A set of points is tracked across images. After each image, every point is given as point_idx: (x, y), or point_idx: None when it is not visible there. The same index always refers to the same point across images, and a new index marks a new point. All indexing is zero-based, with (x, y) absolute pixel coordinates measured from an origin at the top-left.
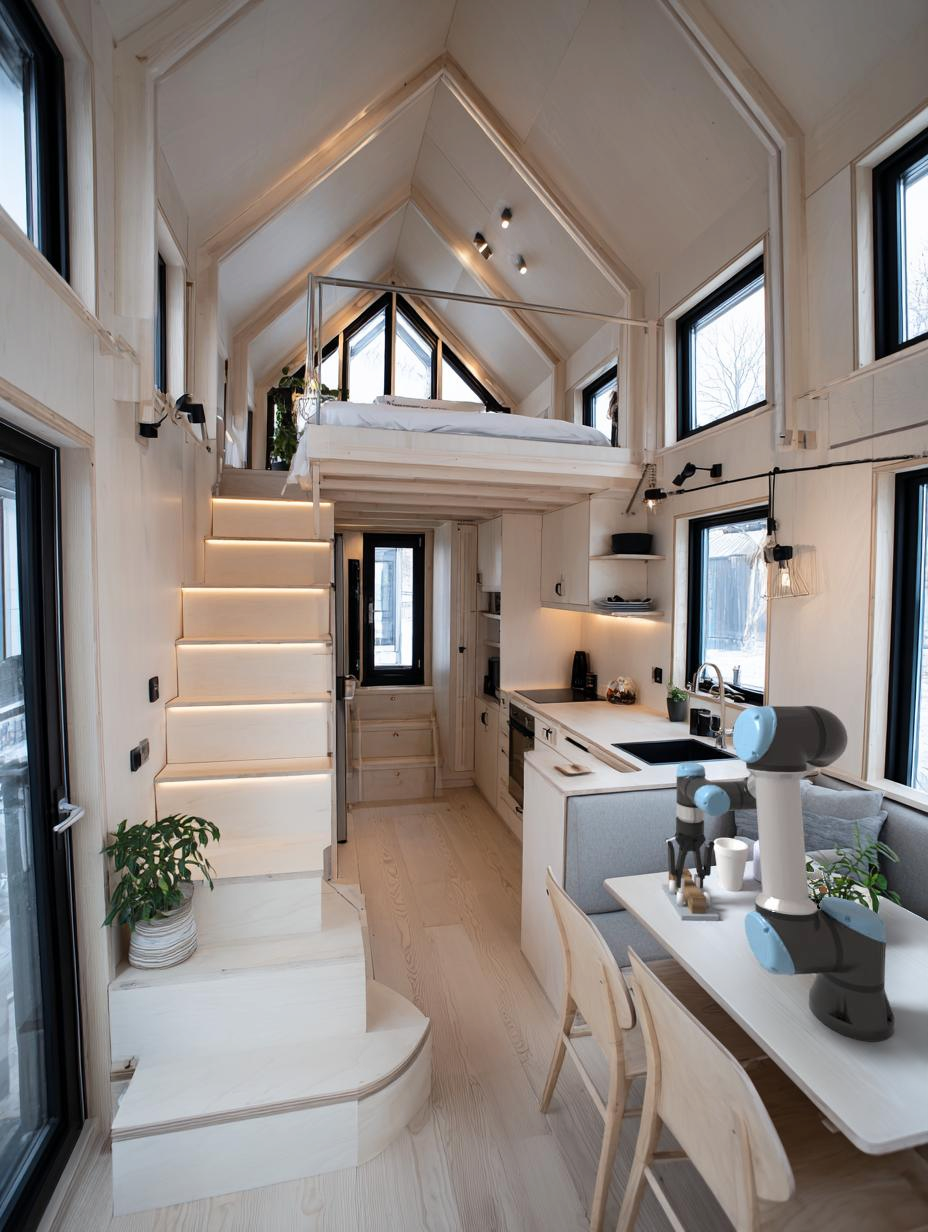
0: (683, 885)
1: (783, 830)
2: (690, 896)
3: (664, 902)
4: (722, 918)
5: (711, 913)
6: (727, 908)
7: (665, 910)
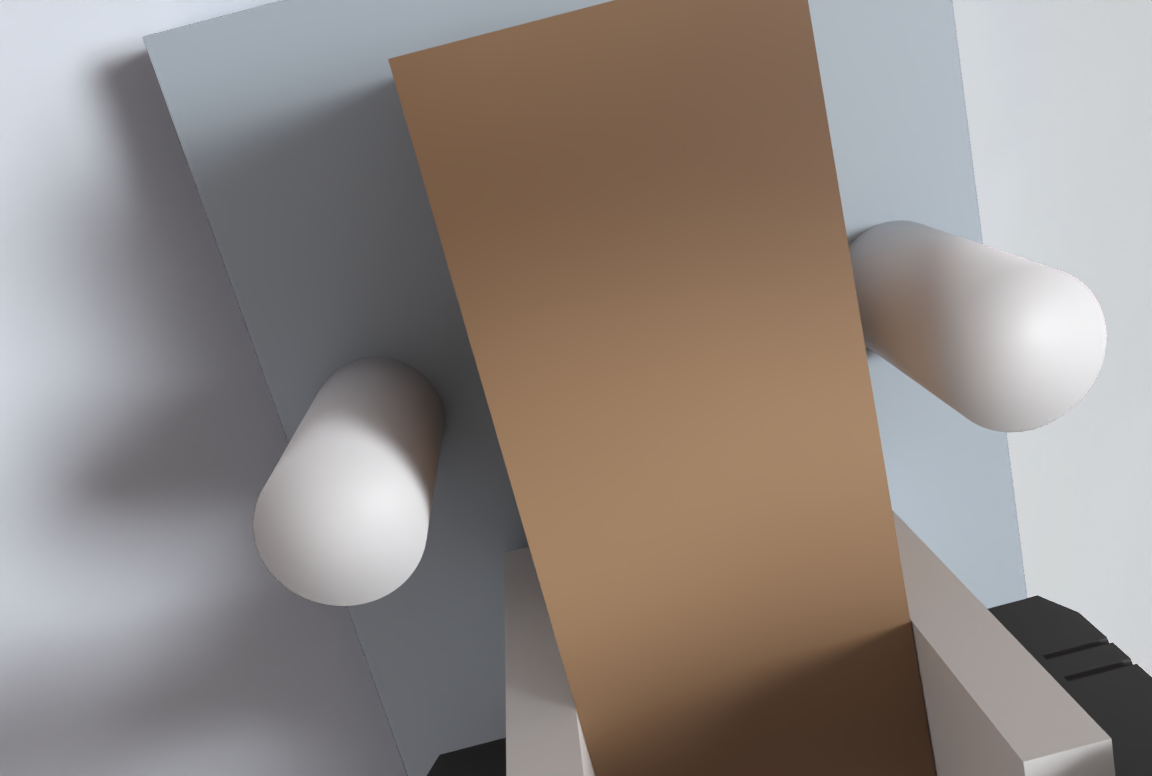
0: (943, 630)
1: None
2: (816, 133)
3: (1089, 461)
4: (107, 161)
5: (299, 123)
6: (21, 566)
7: (1130, 172)
